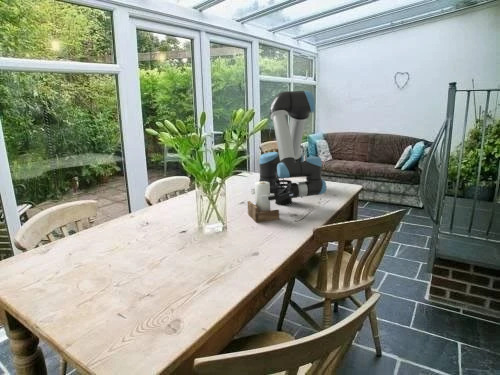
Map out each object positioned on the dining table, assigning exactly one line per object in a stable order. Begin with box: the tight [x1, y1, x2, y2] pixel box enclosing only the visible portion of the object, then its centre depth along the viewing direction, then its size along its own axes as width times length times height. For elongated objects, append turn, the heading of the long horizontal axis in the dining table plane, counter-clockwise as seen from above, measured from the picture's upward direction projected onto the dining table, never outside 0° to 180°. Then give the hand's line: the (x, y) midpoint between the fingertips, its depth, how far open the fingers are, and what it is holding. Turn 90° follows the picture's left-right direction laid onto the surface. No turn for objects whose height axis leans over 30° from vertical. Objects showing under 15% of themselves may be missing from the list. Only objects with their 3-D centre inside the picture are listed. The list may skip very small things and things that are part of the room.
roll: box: [254, 181, 271, 212], centre depth 163 cm, size 7×7×16 cm
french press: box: [273, 162, 293, 206], centre depth 184 cm, size 12×9×23 cm
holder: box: [247, 200, 280, 223], centre depth 165 cm, size 12×12×7 cm
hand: (256, 195), depth 162 cm, fingers open, 13 cm apart
